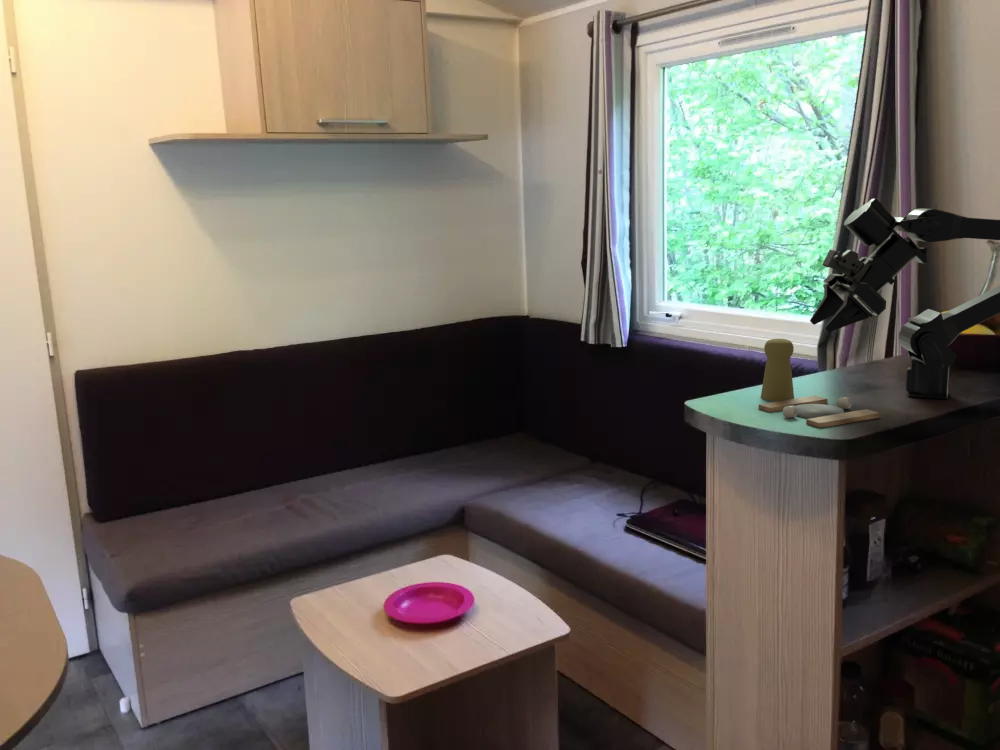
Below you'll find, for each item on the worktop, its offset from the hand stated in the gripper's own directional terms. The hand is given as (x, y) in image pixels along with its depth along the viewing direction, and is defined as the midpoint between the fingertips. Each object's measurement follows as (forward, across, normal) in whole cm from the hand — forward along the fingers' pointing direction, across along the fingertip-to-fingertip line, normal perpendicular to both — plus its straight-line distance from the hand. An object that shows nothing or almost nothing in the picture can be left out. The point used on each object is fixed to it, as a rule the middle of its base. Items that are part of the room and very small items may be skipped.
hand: (818, 326), depth 165 cm
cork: (+14, 0, +4) cm, 15 cm away
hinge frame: (+12, +12, +7) cm, 18 cm away
